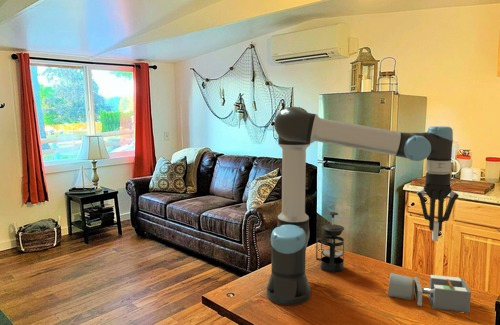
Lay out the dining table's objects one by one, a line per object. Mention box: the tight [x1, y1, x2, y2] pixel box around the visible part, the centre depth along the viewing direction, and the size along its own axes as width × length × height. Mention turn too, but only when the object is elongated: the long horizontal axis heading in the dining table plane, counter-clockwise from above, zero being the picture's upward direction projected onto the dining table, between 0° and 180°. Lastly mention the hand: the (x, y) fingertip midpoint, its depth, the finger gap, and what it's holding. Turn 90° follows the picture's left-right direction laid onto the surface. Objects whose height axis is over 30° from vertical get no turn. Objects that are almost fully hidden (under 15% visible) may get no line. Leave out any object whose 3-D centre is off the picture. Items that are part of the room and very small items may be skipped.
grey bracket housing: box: [427, 274, 472, 314], centre depth 122 cm, size 10×10×7 cm
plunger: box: [413, 276, 453, 307], centre depth 123 cm, size 12×11×7 cm
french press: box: [315, 211, 345, 274], centre depth 151 cm, size 12×9×23 cm
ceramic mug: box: [387, 272, 415, 300], centre depth 129 cm, size 11×8×8 cm
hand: (434, 239), depth 130 cm, fingers closed
